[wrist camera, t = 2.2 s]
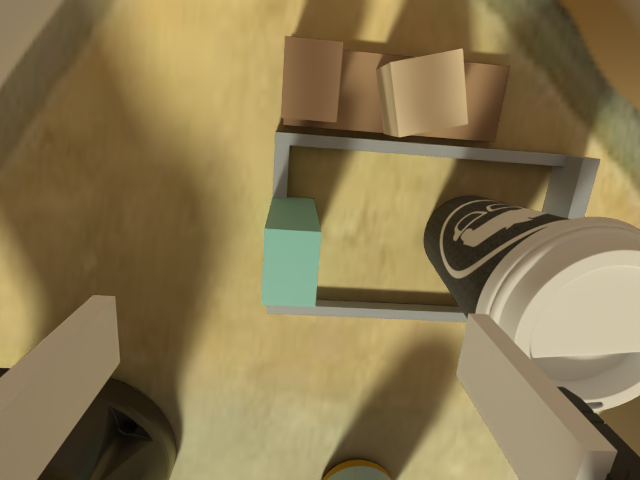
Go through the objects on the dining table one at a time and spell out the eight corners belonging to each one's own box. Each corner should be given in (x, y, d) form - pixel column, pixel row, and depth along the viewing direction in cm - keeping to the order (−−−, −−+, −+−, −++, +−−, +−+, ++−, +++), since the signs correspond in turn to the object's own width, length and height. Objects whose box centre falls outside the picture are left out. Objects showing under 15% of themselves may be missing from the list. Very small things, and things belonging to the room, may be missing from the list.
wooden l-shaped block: (283, 124, 28) (280, 127, 22) (287, 46, 27) (285, 25, 20) (489, 141, 30) (543, 148, 23) (503, 67, 28) (566, 53, 22)
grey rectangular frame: (267, 306, 32) (258, 375, 24) (276, 131, 29) (268, 138, 20) (529, 318, 34) (608, 386, 26) (571, 155, 30) (680, 171, 22)
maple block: (384, 134, 28) (398, 137, 24) (375, 70, 27) (390, 62, 23) (443, 122, 28) (468, 124, 24) (437, 58, 27) (462, 48, 23)
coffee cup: (384, 270, 32) (457, 396, 18) (436, 156, 30) (568, 195, 15) (488, 306, 34) (632, 448, 19) (546, 200, 31) (758, 273, 17)
